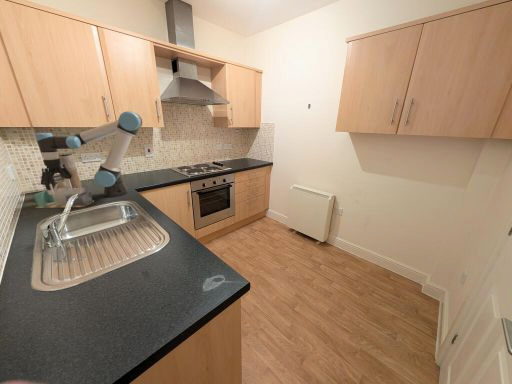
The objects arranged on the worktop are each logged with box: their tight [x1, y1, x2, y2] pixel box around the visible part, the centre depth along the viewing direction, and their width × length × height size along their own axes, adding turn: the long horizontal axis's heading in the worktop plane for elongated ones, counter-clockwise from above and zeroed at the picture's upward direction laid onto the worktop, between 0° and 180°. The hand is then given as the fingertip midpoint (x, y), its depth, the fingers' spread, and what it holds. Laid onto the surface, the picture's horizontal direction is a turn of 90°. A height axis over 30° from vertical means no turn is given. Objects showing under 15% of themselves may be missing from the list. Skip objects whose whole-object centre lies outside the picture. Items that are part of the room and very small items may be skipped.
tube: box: [52, 187, 87, 205], centre depth 133 cm, size 18×5×10 cm, turn 94°
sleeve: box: [65, 191, 94, 206], centre depth 134 cm, size 10×8×7 cm
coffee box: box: [47, 173, 67, 190], centre depth 147 cm, size 9×6×16 cm
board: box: [34, 200, 95, 209], centre depth 134 cm, size 30×10×1 cm, turn 94°
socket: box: [32, 190, 54, 207], centre depth 132 cm, size 5×8×8 cm, turn 4°
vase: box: [58, 153, 83, 188], centre depth 163 cm, size 10×10×28 cm
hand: (61, 191), depth 131 cm, fingers open, 13 cm apart
